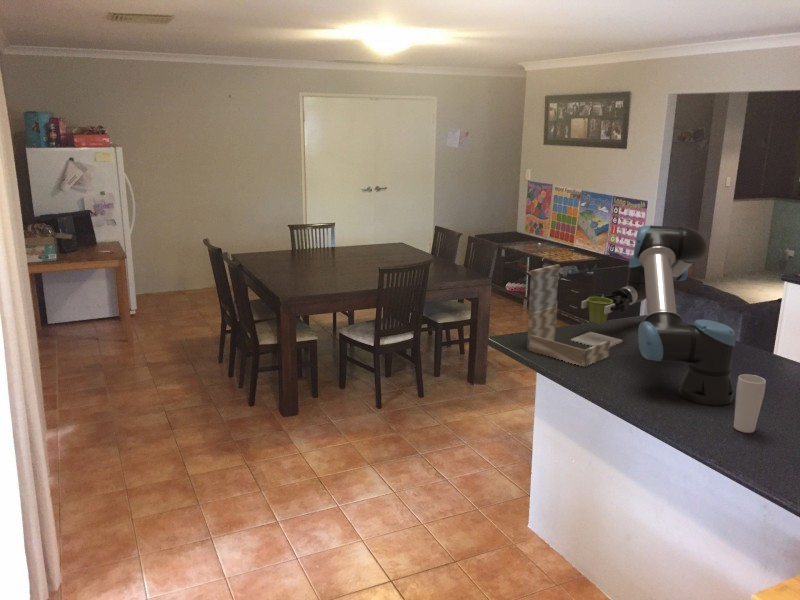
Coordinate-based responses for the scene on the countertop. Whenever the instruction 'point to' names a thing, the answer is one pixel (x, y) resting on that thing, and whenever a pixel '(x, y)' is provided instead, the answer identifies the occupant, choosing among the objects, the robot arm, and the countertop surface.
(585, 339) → the stone pad
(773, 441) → the countertop surface
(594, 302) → the plant pot
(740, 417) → the drinking glass
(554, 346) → the zigzag patterned stand
